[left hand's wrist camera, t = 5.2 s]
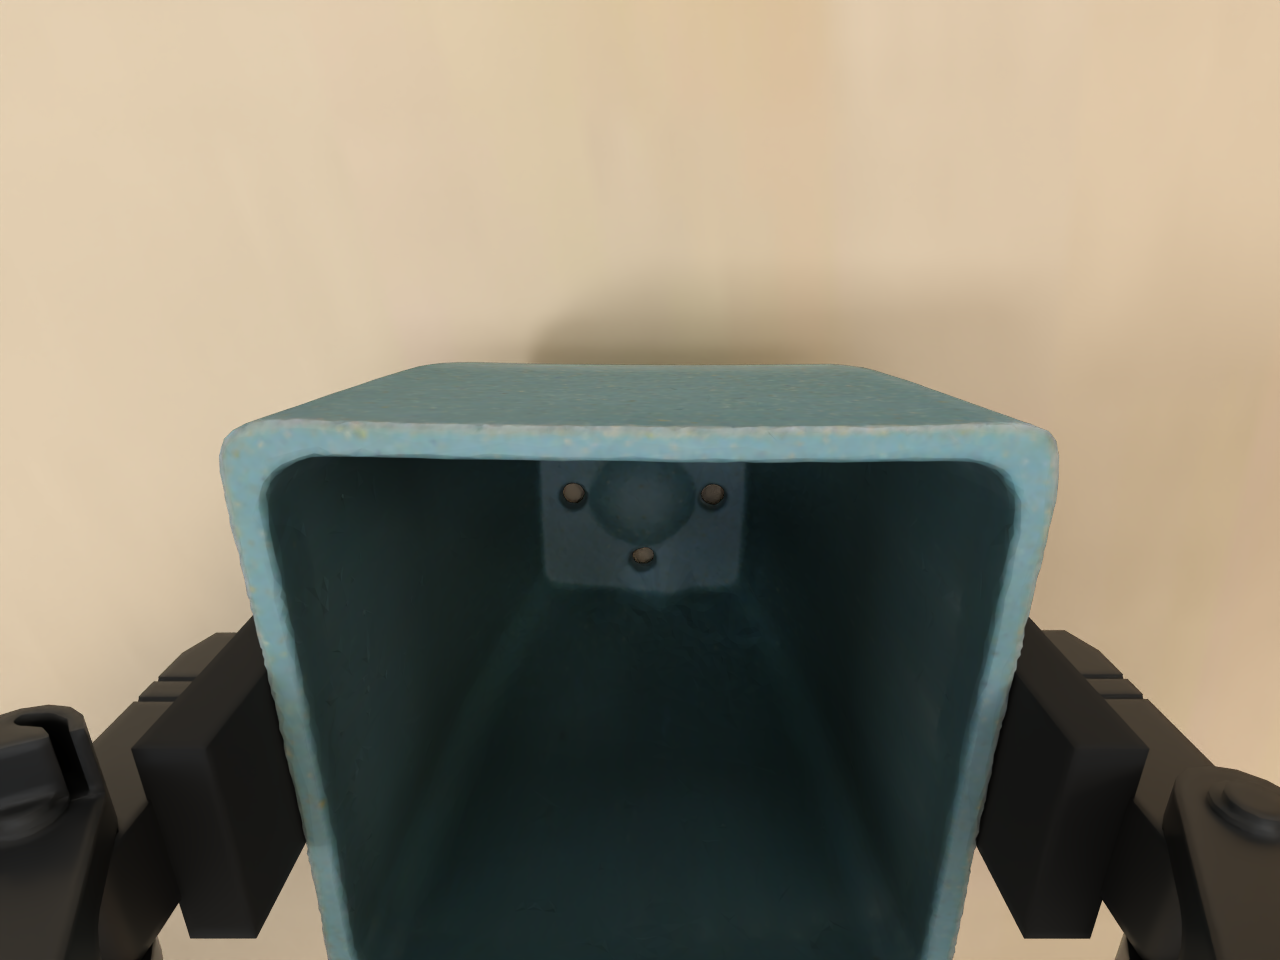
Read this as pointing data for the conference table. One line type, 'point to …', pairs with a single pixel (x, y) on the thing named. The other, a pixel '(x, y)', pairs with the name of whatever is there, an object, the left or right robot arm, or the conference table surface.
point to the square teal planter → (640, 654)
